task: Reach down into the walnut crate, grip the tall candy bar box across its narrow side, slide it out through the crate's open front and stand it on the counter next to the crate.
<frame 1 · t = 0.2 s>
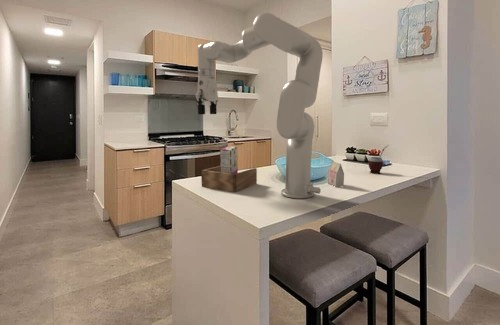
hand: (207, 114, 137), 30 cm above the table, tool pointing down, fingers open, 9 cm apart
walnut crate: (229, 185, 134), on the table
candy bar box: (229, 185, 134), resting in walnut crate
toy house: (335, 185, 134), on the table
mate gourd: (375, 173, 161), on the table
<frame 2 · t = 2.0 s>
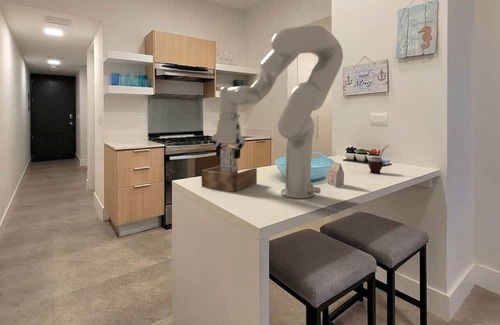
hand: (227, 157, 132), 12 cm above the table, tool pointing down, fingers open, 9 cm apart
nothing on the table moved.
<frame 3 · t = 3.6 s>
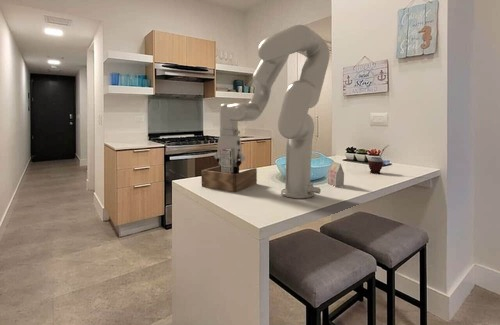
hand: (229, 174, 133), 5 cm above the table, tool pointing down, fingers closed on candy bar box, 6 cm apart
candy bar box: (229, 185, 134), resting in walnut crate, touching gripper
everything else where it was.
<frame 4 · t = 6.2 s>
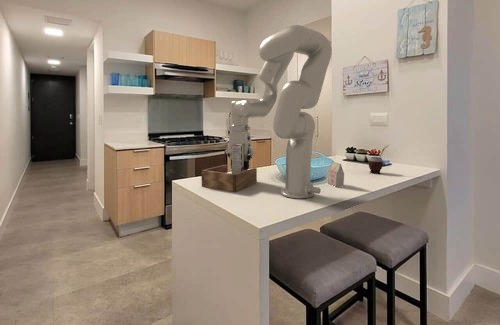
hand: (239, 168, 139), 6 cm above the table, tool pointing down, fingers closed on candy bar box, 6 cm apart
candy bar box: (239, 179, 140), point 1 cm above the table, touching gripper
everything else where it was.
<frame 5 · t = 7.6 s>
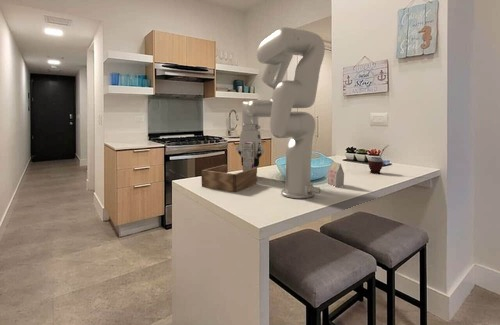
hand: (250, 165, 147), 6 cm above the table, tool pointing down, fingers closed on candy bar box, 6 cm apart
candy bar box: (249, 175, 147), point 1 cm above the table, touching gripper
everything else where it was.
when the fingers open (5 cm above the table, at t = 8.9 s): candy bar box stays where it is, on the table.
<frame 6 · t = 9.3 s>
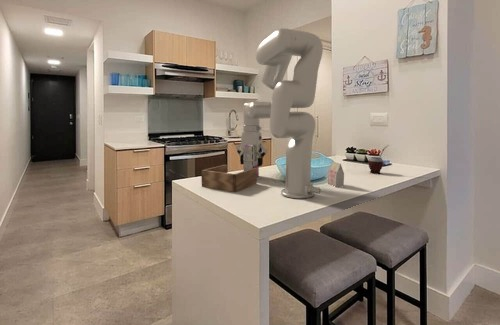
hand: (251, 164, 148), 6 cm above the table, tool pointing down, fingers open, 9 cm apart
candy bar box: (251, 178, 148), on the table
everything else where it was.
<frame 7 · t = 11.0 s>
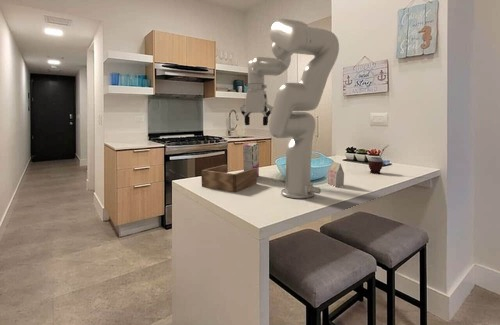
hand: (256, 125, 145), 25 cm above the table, tool pointing down, fingers open, 9 cm apart
nothing on the table moved.
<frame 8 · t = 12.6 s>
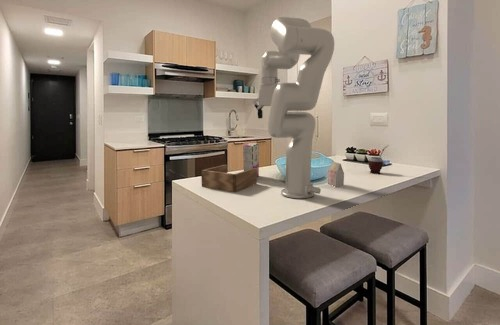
hand: (268, 118, 148), 28 cm above the table, tool pointing down, fingers open, 9 cm apart
nothing on the table moved.
at the end: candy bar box inside the target area (1.2 cm from its centre), on the table; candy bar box tilted 0°; the gripper is holding nothing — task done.
